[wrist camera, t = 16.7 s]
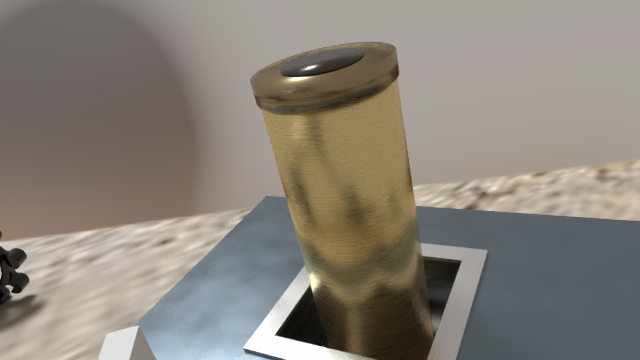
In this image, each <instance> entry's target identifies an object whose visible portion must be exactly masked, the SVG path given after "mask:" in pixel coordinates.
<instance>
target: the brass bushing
mask: <svg viewBox="0 0 640 360" xmlns="http://www.w3.org/2000/svg"><path fill="white" fill-rule="evenodd" d="M398 76H399V67H398V60H397V53H396V48H395V47H394V46H393V45H391V44H388V43H382V42H358V43H348V44H341V45H334V46H329V47H324V48H319V49H316V50H311V51H307V52H304V53H300V54H297V55H294V56H291V57H288V58H285V59H282V60H280V61H277V62H275V63H272V64H270V65H268V66H266V67H265V68H263V69H261V70H259V71H258V72H257V73H255V74H254V75H253V76H252V78H251V80H250V82H251V86H252V89H253V93H254V96H255V100H256V103H257V105H258V107H260V108H261V110H262V114H263V118H264V121H265V125H266V128H267V132H268V136H269V139H270V143H271V146H272V150H273V153H274V157H275V160H276V164H277V168H278V171H279V175H280V178H281V182H282V185H283V189H284V193H285V196H286V200H287V203H288V207H289V210H290V214H291V217H292V221H293V225H294V228H295V232H296V235H297V239H298V242H299V246H300V249H301V253H302V256H303V260H304V264H305V267H306V271H307V274H308V278H309V281H310V285H311V288H312V292H313V296H314V299H315V303H316V306H317V310H318V313H319V317H320V320H321V324H322V328H323V331H324V335H325V338H326V342H327V345H328V348H330V349H334V350H338V351H342V352H346V353H351V354H355V355H359V356H363V357H367V358H372V359H376V360H427V358H428V355H429V352H430V350H431V347H432V344H433V341H434V332H433V325H432V318H431V311H430V304H429V297H428V290H427V283H426V276H425V269H424V262H423V255H422V248H421V241H420V234H419V227H418V220H417V213H416V206H415V199H414V192H413V185H412V179H411V173H410V165H409V158H408V151H407V144H406V137H405V130H404V123H403V116H402V109H401V102H400V95H399V88H398V81H397V78H398Z"/></svg>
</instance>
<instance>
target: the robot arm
mask: <svg viewBox="0 0 640 360" xmlns="http://www.w3.org/2000/svg"><path fill="white" fill-rule="evenodd" d="M98 360H156V358H155V356H154V354H153V352H152V350H151V348H150V346H149V344H148V342H147V340H146V338H145V336H144V334H143V332H142V330H141V328H140V326H139V325H138V326H134V327H130V328H127V329H123V330H119V331H115V332H112V333H108V334H107V335H106V338H105V340H104V343H103V346H102V349H101V352H100V354H99V357H98Z"/></svg>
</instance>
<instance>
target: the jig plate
mask: <svg viewBox="0 0 640 360" xmlns="http://www.w3.org/2000/svg"><path fill="white" fill-rule="evenodd" d="M416 213H417V220H418V227H419V234H420V241H421V248H422V255H423V262H424V269H425V276H426V283H427V290H428V297H429V304H430V305H432V306H438V307H444V308H445V310H444V313H443V316H442V318H441V321H440V324H439V327H438V330H437V333H436V335H435V338H434V341H433V344H432V347H431V350H430V352H429V355H428V358H427V360H640V221H627V220H612V219H598V218H583V217H568V216H553V215H539V214H524V213H509V212H494V211H480V210H465V209H450V208H435V207H421V206H416ZM138 325H139V326H140V328H141V330H142V332H143V334H144V336H145V338H146V340H147V342H148V344H149V346H150V348H151V350H152V352H153V354H154V356H155V358H156V360H376V359H372V358H367V357H363V356H359V355H355V354H351V353H346V352H342V351H338V350H334V349H330V348H325V347H321V346H317V345H316V344H317V342H318V341H319V339H320V337H321V336H322V334H323V332H324V331H323V328H322V324H321V320H320V317H319V313H318V310H317V306H316V303H315V299H314V296H313V292H312V288H311V285H310V281H309V278H308V274H307V271H306V267H305V264H304V260H303V256H302V253H301V249H300V246H299V242H298V239H297V235H296V232H295V228H294V225H293V221H292V217H291V214H290V210H289V207H288V203H287V200H286V197H273V196H266V197H265V198H264V199H263V200H262V201H261V202H260V203H259V204H258V205H257V206H256V207H255V208H254V209H253V210H252V211H251V212H250V213H249V214H248V215H247V216H246V217H245V218H244V219H243V220H242V221H241V222H240V223H239V224H237V225H236V226H235V227H234V228H233V229H232V230H231V231H230V232H229V233H228V234H227V235H226V236H225V237H224V238H223V239H222V240H221V241H220V242H219V243H218V244H217V245H216V246H215V247H214V248H213V249H212V250H211V251H210V252H209V253H208V254H207V255H206V256H205V257H204V258H203V259H202V260H201V261H200V262H199V263H198V264H197V265H196V266H195V267H194V268H192V269H191V270H190V271H189V272H188V273H187V274H186V275H185V276H184V277H183V278H182V279H181V280H180V281H179V282H178V283H177V284H176V285H175V286H174V287H173V288H172V289H171V290H170V291H169V292H168V293H167V294H166V295H165V296H164V297H163V298H162V299H161V300H160V301H159V302H158V303H157V304H156V305H155V306H154V307H153V308H152V309H151V310H150V311H149V312H148V313H146V314H145V315H144V316H143V317H142V318H141V319H140V320H139V321H138V322H137V323H136V324H135V325H134V326H138ZM134 326H133V327H134Z"/></svg>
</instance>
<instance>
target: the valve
mask: <svg viewBox="0 0 640 360" xmlns="http://www.w3.org/2000/svg"><path fill="white" fill-rule="evenodd" d="M1 237H2V233H1V232H0V239H1ZM26 258H27V255H26V253H25V252H24V251H23V250H21V249H18V248H14V249H12V250H11V251H6V250H4V249H3V248H2V247H1V246H0V267H1V272H2V275H1V279H0V305H2V304H3V303H4V301H5V300H6V299H7V298H8V297H9V296H10V291H9V289H8V288H6V287H5V286H6V285H11V286H12V287H14V288H13V290H12V291H11V292H12V293H20V292H21V291H22V290H23V289H24V288H25V287H26V286H27V285H28V283H29V277H28V276H27V275H26V274H24V273H17V272H16V271H15V269H17V268H19V266H20V265H21V264H22V263H23V262H24V261H25V260H26Z"/></svg>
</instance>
